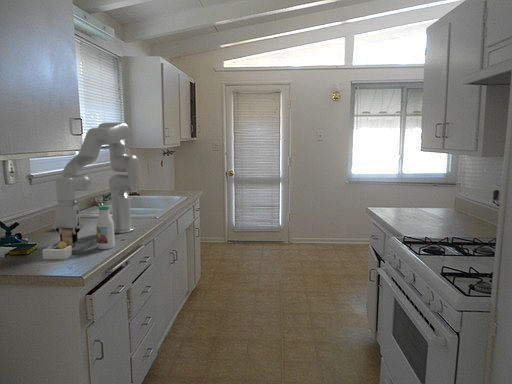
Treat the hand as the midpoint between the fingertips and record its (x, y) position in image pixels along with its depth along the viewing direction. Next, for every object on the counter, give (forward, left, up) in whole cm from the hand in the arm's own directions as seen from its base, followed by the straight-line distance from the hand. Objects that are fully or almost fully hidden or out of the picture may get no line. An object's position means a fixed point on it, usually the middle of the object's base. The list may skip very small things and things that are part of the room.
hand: (69, 241), depth 182 cm
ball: (+7, 0, 0) cm, 7 cm away
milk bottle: (-3, +16, -4) cm, 17 cm away
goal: (+11, 0, -4) cm, 12 cm away
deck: (0, 0, -4) cm, 4 cm away
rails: (+4, 0, -2) cm, 4 cm away
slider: (0, 0, -1) cm, 1 cm away
